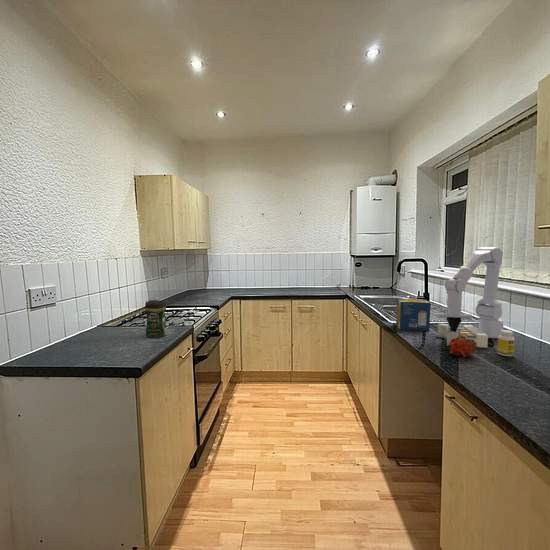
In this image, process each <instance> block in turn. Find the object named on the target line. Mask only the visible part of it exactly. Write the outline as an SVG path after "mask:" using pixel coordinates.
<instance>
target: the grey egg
mask: <svg viewBox="0 0 550 550" xmlns="http://www.w3.org/2000/svg"><path fill="white" fill-rule="evenodd" d="M459 334H460V332H457V331H456V332H452V331H451V330H450V331H449V330H448V332H447V338H446V346H447V347H448V345H449V344H450V342H451V340H452V339H456V338H457V337H459Z"/></svg>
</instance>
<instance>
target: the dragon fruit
mask: <svg viewBox="0 0 550 550" xmlns="http://www.w3.org/2000/svg"><path fill="white" fill-rule="evenodd" d="M446 349H447V350H449V353H450V354H451V355H453V356H457V357H458V356H459V357H460V356H462V357H463V358H467V357H470V355H475V354H477V352H476V351H478V347H477V343H475V342H474V340H472V339H467V338H466V337H465V336H463V337H459V336H458V337H457V338H456V339H452V340H451V342H450V344H449V345H448V346H447V347H446Z"/></svg>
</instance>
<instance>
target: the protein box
mask: <svg viewBox="0 0 550 550" xmlns="http://www.w3.org/2000/svg"><path fill="white" fill-rule="evenodd" d="M395 317H396V319H395V325H396V327H397V328H398V330H399V329H402V330H401V331H417V330H419V332H429V331H430V324H431V323H430V322H431V302H430V301H428V300H427V299H425V298H424V299H423V298H396V313H395Z"/></svg>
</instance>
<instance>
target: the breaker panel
mask: <svg viewBox="0 0 550 550" xmlns="http://www.w3.org/2000/svg"><path fill="white" fill-rule="evenodd" d="M456 331H458V332H459V333H460V332H469V333H471V334H466V335H462V337H464V336H465V337H466V338H467V339H472V340H474V342H475V343H477V347H476V348H488V341H489V338H488V335H487V334H485V333H483V332H482V331H480V330H479V328H478V327H476V326H474V325H473V324H472V325H470V324H469V325H468V324H463V325H462V327H458V328H457V330H456Z"/></svg>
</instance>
